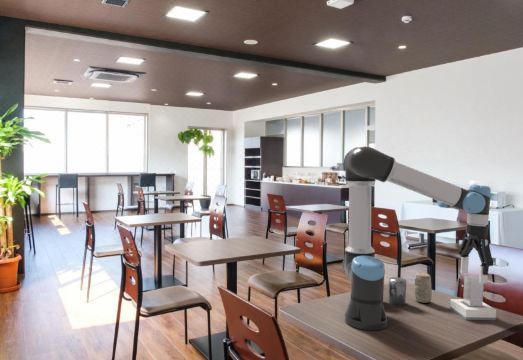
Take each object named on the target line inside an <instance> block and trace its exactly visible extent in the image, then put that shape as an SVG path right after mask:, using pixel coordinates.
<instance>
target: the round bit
mask: <svg viewBox="0 0 523 360" xmlns="http://www.w3.org/2000/svg"><path fill="white" fill-rule="evenodd" d="M406 297H407V279H405V278H403V277H397V276H395V277H393V276H392V277H389V278H388V296H387V303H388V304H389V305H391V306H397V307H398V306H399V307H402V306H405V305H406Z"/></svg>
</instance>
